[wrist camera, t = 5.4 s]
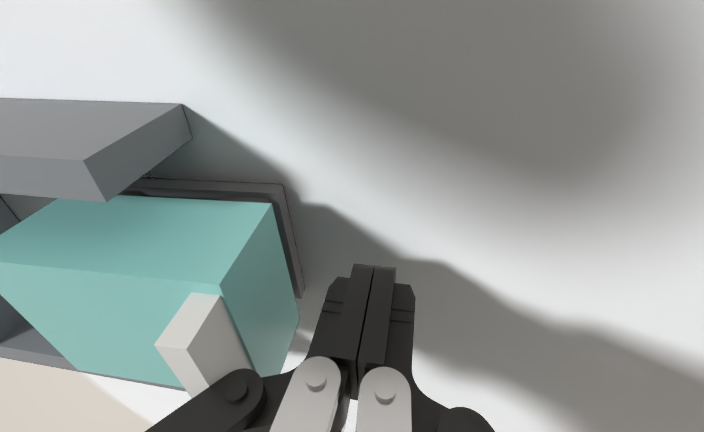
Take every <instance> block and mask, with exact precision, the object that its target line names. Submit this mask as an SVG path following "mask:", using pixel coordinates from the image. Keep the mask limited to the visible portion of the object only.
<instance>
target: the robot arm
mask: <svg viewBox="0 0 704 432" xmlns="http://www.w3.org/2000/svg"><path fill="white" fill-rule="evenodd" d="M395 280H396V268H391V267H382V266H376V267H375V266H372V265H363V264H354V265H353V269H352V272H351V276H350V278H345V277H337V279H336V280H335V281H334V282H333V283H332V284H331V285H330V287H329V289H328V292H327V295H326V298H325V302H324V305H323V308H322V312H321V314H320V317H319V320H318V324H317V327H316V330H315V333H314V336H313V339H312V343H311V346H310V349H309V352H308V354H307V356H306V358H305V359H304V361H303V362H302V363H301V364H300V365H299V366H298V367H296V368H295V369H293V370H291V371H289V372H287V373H283V374H278V375H272V376H266V377H260V375H259V374H258V373H257V372H255V371H254V370H252V369H247V368H242V369H237V370H234V371H232V372H230V373H228V374H227V375H225V376H224V377H222V378H221V379H219V380H218V381H217V382H215V383H214V384H212V385H211V386H209V387H208V388H207V389H205V390H204V391H202V392H201V393H199V394H198V395H197V396H195V397H194V398H192V399H191V400H189V401H188V402H187V403H185V404H184V405H182V406H181V407H179V408H178V409H177V410H175V411H174V412H172V413H171V414H169V415H168V416H167V417H165V418H164V419H162V420H161V421H159V422H158V423H157V424H155V425H154V426H152V427H151V428H149V429H148V430H147V431H145V432H344V429H345V424H346V419H347V413H348V408H349V403H350V399H353V400H358V397H359V400H358V411H357V422H356V432H495V431H494V430H493V428H492V427H491V426H490V425H489V423H488V422H487V421H486V420H485V419H484V418H483V417H482V416H481V415H480V414H478V413H477V412H475V411H473V410H471V409H469V408H465V407H455V408H451V409H448V408H446V407H444V406H443V405H441V404H439V403H437V402H435V401H433V400H431V399H430V398H428V397H427V396H426V395H424V394H423V393H422V392H421V391H420V390H419V388H418V387H417V385H416V383H415V381H414V379H413V376H412V349H413V331H414V312H415V296H414V294H413V291H412V289H411V287H410V285H406V284H397V283H395Z"/></svg>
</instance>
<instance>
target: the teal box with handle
mask: <svg viewBox="0 0 704 432" xmlns="http://www.w3.org/2000/svg"><path fill="white" fill-rule="evenodd" d="M304 289H305V286H304V282H303V277H302V272H301V268H300V263H299V258H298V254H297V249H296V244H295V240H294V235H293V230H292V226H291V221H290V216H289V212H288V207H287V202H286V198H285V193H284V188H283V184H263V183H239V182H216V181H193V180H169V179H146V178H139V179H137V180H136V181H135V182H133V183H132V184H131V185H129V186H128V187H127V188H125V189H124V190H123V191H121V192H120V193H119V194H117V195H116V196H115V197H113V198H112V199H111V200H109V201H108V202H107V203H106V202H94V201H83V200H71V199H60V198H57V199H56V200H54V201H52V202H51V203H49V204H48V205H46V206H45V207H43V208H41V209H40V210H38V211H37V212H35V213H34V214H32V215H31V216H29V217H27V218H26V219H24V220H23V221H21V222H20V223H18V224H16V225H15V226H13V227H12V228H10V229H9V230H7V231H6V232H4V233H2V234H1V235H0V295H1V296H2V297H3V298H4V299H5V300H7V301H8V302H9V303H10V304H11V305H12V306H13V307H14V308H15V309H16V310H17V311H18V312H19V313H20V314H21V315H22V316H23V317H24V318H25V319H26V320H27V321H28V322H29V323H30V324H31V325H32V326H33V327H34V328H35V329H36V330H37V331H38V332H39V333H40V334H41V335H42V336H43V337H44V338H46V339H47V340H48V341H49V342H50V343H51V344H52V345H53V346H54V347H55V348H56V349H57V350H58V351H59V352H60V353H61V354H62V355H63V356H64V357H65V358H66V359H67V360H68V361H69V362H70V363H71V364H72V365H73V366H74V367H75V368H76V369H77V370H80V371H86V372H92V373H98V374H104V375H110V376H116V377H122V378H128V379H134V380H140V381H146V382H152V383H158V384H164V385H170V386H176V387H182V388H185V389H186V391H187V392H188V394H189V395H190V396H191V398H194V397H195V396H197V395H198V394H199V393H201V392H202V391H204V390H205V389H207V388H208V387H209V386H211V385H212V384H214V383H215V382H217V381H218V380H219V379H221V378H222V377H224V376H225V375H227V374H228V373H230V372H232V371H234V370H237V369H242V368H247V369H252V370H254V371H255V372H257V373H258V374H259V375H260V377H266V376H272V375H278V374H280V373H281V370H282V367H283V364H284V362H285V359H286V356H287V353H288V350H289V348H290V345H291V342H292V339H293V337H294V334H295V331H296V328H297V325H298V323H299V320H300V316H299V312H298V308H297V304H296V300H295V298H301V297H302V295H303V292H304Z"/></svg>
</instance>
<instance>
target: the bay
mask: <svg viewBox="0 0 704 432" xmlns="http://www.w3.org/2000/svg"><path fill="white" fill-rule="evenodd" d="M191 139H192V135H191V132H190V129H189V126H188V123H187V120H186V117H185V114H184V111H183V108H182V105H181V104H174V103H142V102H111V101H79V100H48V99H16V98H0V193H3V194H14V195H26V196H37V197H49V198H60V199H71V200H83V201H94V202H106V203H107V202H108V201H109V200H111V199H112V198H113V197H115V196H116V195H117V194H119V193H120V192H121V191H123V190H124V189H125V188H127V187H128V186H129V185H131V184H132V183H133V182H135V181H136V180H137V179H139V178H140V177H141V176H143V175H144V174H145V173H147V172H148V171H149V170H151V169H152V168H153V167H155V166H156V165H157V164H159V163H160V162H161V161H163V160H164V159H165V158H167V157H168V156H169V155H171V154H172V153H173V152H175V151H176V150H177V149H179V148H180V147H181V146H183V145H184V144H185V143H187V142H188V141H189V140H191ZM18 223H20V222H19V220H18V219H17V218H16V217H15V215H14V214H13V213H12V212H11V210H10V209H9V208H8V206H7V205H6V204H5V203H4V201H3V200H2V199H1V198H0V235H1V234H2V233H4V232H6V231H7V230H9V229H10V228H12V227H13V226H15V225H16V224H18ZM0 357H1V358H7V359H12V360H18V361H23V362H29V363H34V364H40V365H45V366H50V367H56V368H61V369H67V370H73V371H78V372H83V373H88V374H94V375H99V376H105V377H110V378H116V379H121V380H127V381H132V382H137V383H143V384H148V385H154V386H159V387H165V388H170V389H176V390H181V391H186V389H185V388H182V387H176V386H170V385H164V384H158V383H152V382H146V381H140V380H134V379H128V378H122V377H116V376H110V375H104V374H98V373H92V372H86V371H80V370H77V369H76V368H75V367H74V366H73V365H72V364H71V363H70V362H69V361H68V360H67V359H66V358H65V357H64V356H63V355H62V354H61V353H60V352H59V351H58V350H57V349H56V348H55V347H54V346H53V345H52V344H51V343H50V342H49V341H48V340H47V339H46V338H44V337H43V336H42V335H41V334H40V333H39V332H38V331H37V330H36V329H35V328H34V327H33V326H32V325H31V324H30V323H29V322H28V321H27V320H26V319H25V318H24V317H23V316H22V315H21V314H20V313H19V312H18V311H17V310H16V309H15V308H14V307H13V306H12V305H11V304H10V303H9V302H8V301H7V300H5V299H4V298H3V297H2V296H1V295H0ZM186 392H187V391H186Z"/></svg>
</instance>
